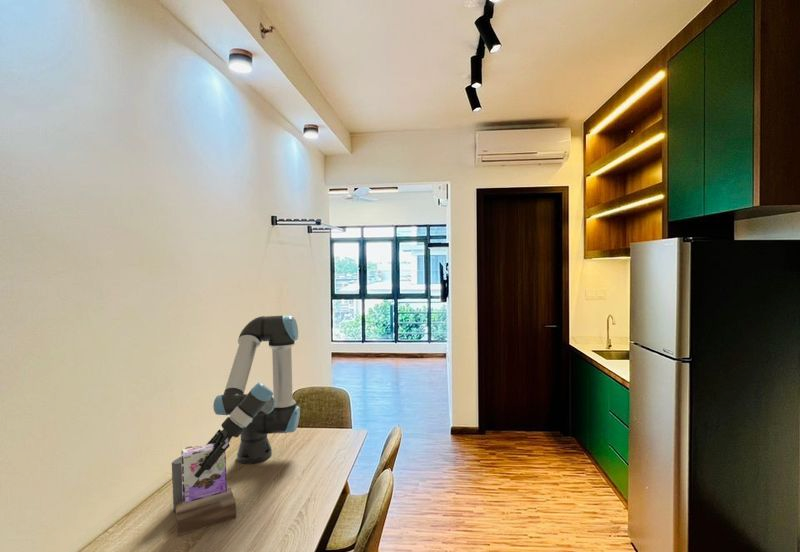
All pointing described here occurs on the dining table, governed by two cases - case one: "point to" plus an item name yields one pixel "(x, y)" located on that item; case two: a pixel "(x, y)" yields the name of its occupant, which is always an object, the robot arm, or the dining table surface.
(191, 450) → the candy box
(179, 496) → the flask
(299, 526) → the dining table surface
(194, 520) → the walnut plinth
